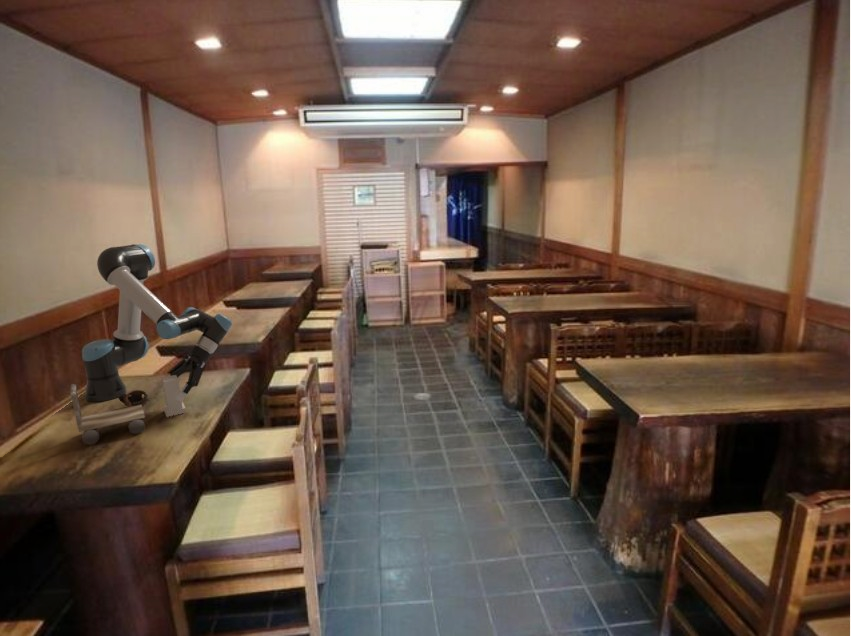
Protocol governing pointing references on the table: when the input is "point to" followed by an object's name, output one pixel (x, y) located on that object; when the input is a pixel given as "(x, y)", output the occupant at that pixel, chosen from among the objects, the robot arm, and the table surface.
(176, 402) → the grey pillar on base
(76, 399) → the trolley
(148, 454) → the table surface
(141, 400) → the broken clay pot
